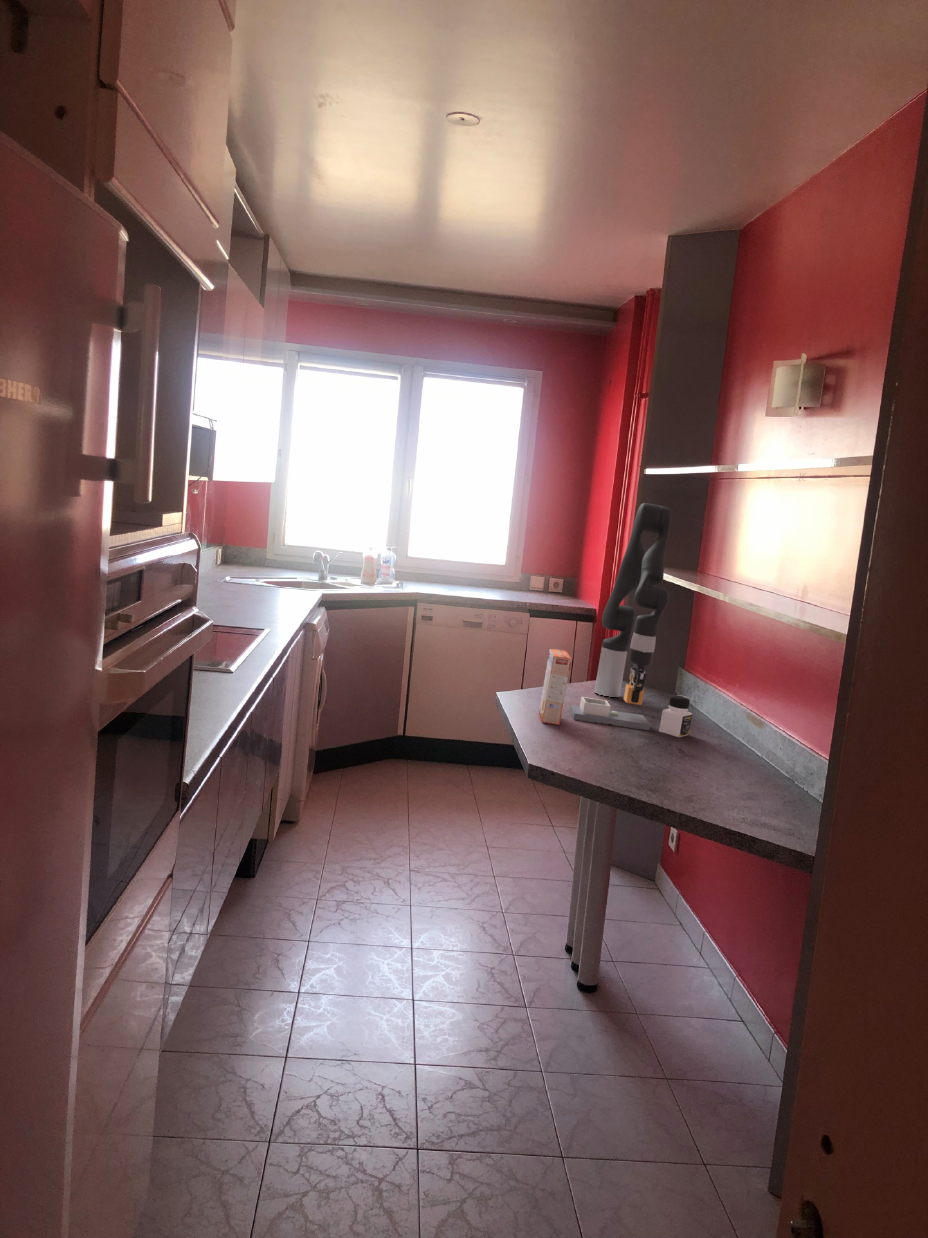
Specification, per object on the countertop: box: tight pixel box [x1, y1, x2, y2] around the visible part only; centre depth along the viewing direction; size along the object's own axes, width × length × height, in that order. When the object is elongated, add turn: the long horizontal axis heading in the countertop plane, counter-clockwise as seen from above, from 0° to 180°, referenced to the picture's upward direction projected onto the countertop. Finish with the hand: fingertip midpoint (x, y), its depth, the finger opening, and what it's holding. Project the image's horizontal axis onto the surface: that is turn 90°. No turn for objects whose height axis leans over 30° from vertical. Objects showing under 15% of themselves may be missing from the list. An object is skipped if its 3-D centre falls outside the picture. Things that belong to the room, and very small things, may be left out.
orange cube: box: [623, 683, 645, 706], centre depth 287 cm, size 5×5×5 cm
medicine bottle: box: [658, 694, 693, 738], centre depth 282 cm, size 7×7×12 cm
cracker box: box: [538, 648, 572, 726], centre depth 275 cm, size 14×6×21 cm, turn 179°
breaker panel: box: [568, 696, 651, 731], centre depth 287 cm, size 12×24×6 cm, turn 90°
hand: (632, 700), depth 287 cm, fingers closed on orange cube, 5 cm apart
